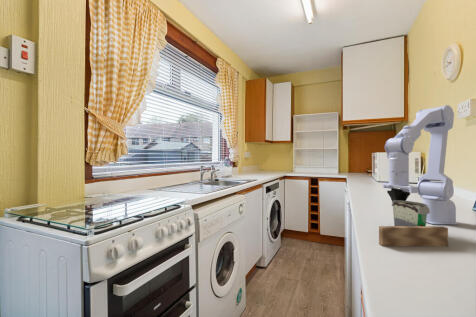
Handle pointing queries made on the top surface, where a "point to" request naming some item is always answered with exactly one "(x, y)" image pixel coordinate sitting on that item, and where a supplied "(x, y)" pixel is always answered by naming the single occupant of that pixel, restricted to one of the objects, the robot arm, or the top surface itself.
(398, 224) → the bookend
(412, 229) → the shelf panel
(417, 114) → the robot arm
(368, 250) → the top surface
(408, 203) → the food container
